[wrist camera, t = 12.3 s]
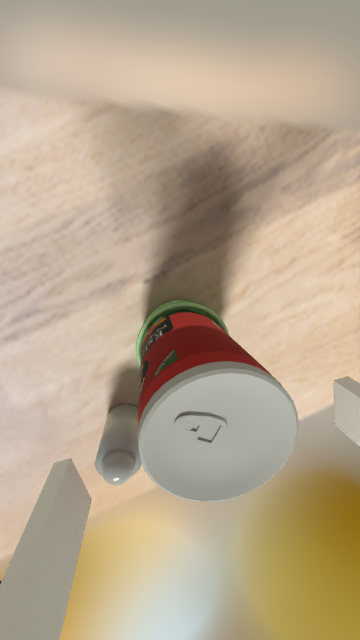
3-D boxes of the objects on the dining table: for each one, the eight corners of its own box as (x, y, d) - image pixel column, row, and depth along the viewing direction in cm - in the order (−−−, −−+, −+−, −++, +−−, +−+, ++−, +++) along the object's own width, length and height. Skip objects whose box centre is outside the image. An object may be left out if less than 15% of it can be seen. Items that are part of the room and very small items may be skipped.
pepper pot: (113, 437, 28) (100, 504, 21) (101, 409, 27) (82, 470, 19) (147, 428, 28) (146, 490, 21) (137, 399, 27) (133, 455, 19)
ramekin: (230, 313, 25) (246, 325, 21) (196, 379, 27) (205, 402, 23) (157, 280, 23) (159, 286, 19) (126, 354, 25) (121, 374, 21)
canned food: (148, 303, 19) (151, 357, 9) (233, 316, 21) (324, 377, 10) (135, 382, 21) (125, 505, 11) (214, 389, 23) (275, 503, 12)
